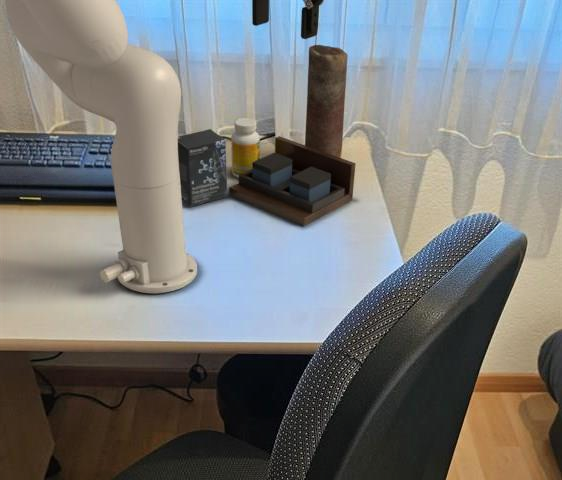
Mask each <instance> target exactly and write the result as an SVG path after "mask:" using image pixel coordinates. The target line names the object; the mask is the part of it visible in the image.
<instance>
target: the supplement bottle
mask: <svg viewBox="0 0 562 480" xmlns="http://www.w3.org/2000/svg"><path fill="white" fill-rule="evenodd" d="M233 127H234V128H233V129H234V132H232V133H231V137H230V141H231V142H230V143H231V144H230V146H231V147H230V148H231V173H232V175H233V176H234V177H236V178H238V179H239V175H240V174H243V173H245V172H247V171H249V170H252V162H254V161H256V160H259V159H261V138H260V137H261V136H260V135H259V133H258V131H256V130H257V121H256V120H255V119H253V118H249V117H240V118H237V119H235V121H234V126H233Z"/></svg>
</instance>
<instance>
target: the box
mask: <svg viewBox="0 0 562 480" xmlns="http://www.w3.org/2000/svg"><path fill="white" fill-rule="evenodd" d="M178 161H179V172H180V185H181V197H182V203H184V204H186V205H187V206H188V207H189V208H192V207H195V206H199V205H202V204H205V203H206V204H207V203H210V202H214V201H218V200H222V199H223V200H225V199H227V198H228V178H227V177H228V175H227V139H225V138H224V137H223V136H221V135H219V133H217V132H215V131H214V130H212V128H209V129H204V130H201V131H197V132H192V133H187V134H184V135H183V134H182V135H178Z"/></svg>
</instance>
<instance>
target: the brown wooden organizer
mask: <svg viewBox="0 0 562 480" xmlns="http://www.w3.org/2000/svg"><path fill="white" fill-rule="evenodd" d="M274 153H276V154H279V155H282V156H285V157H287V158H290V159H292V176H293V175H295V174H297V173H299V172H301V171H303V170H305V169H307V168H309V167H314V168H317V169H319V170H322V171H325V172H328V173H330V174H331V179H330V193H329V194H327V195H325V196H323V197H321V198H319V199H317V200H315V201H313V202H311V201H308V200H306V199H303V198H301V197H298V196H295V195H293V194H290V179H288V180H286V181H284V182H282V183H280V184H278V185H276V186H274V187H273V186H270V185H268V184H265V183H263V182H260V181H258V180H255V179H253V178H252V170H249V171H247V172H245V173H243V174H240V175H239V178H238V182H237V183H235V184H233V185H231V186H229V187H228V196H229V197H233V198H235V199H237V200H240V201H242V202H245V203H246V204H249V205H252V206H254V207H256V208H259V209H261V210H264V211H266V212H267V213H268V212H269V213H271V214H273V215H275V216H278V217H280V218H283V219H285V220H287V221H290V222H293V223H294V224H297V225H300V226H302V227H306V226H307V225H309V224H311V223H313V222H315V221H317V220H319V219H320V218H322V217H324V216H326V215H328V214H329V213H332V212H333V211H335V210H337V209H339V208H341V207H342V206H345V205H346V204H348V203H350V202H352V201H353V197H354V188H355V187H354V186H355V176H356V165H357V164H356V162H354V161H350V160H348V159H344V158H342V157H341V158H339V157H336V156H334V155H331V154H328V153H325V152H322V151H320V150H317V149H314V148H311V147H308V146H305V144H303V143H299V142H297V141H294V140H291V139H288V138H286V137H283V136H280V135H279V136H276V137H274Z"/></svg>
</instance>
